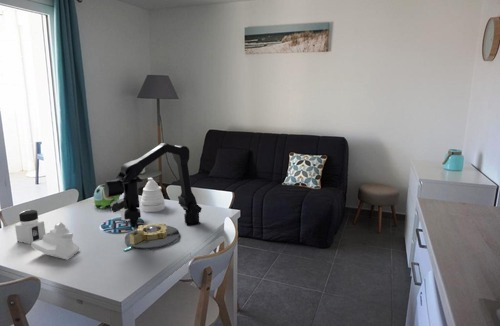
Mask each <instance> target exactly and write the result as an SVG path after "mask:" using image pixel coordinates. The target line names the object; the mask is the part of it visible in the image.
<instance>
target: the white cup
mask: <svg viewBox="0 0 500 326" xmlns="http://www.w3.org/2000/svg"><path fill="white" fill-rule="evenodd" d="M126 210H127V209H124V208H123V209H120V210H119V212H120V216H121V217H120V218H121V221H122V220H130V219H125V216H124V212H125V211H126Z"/></svg>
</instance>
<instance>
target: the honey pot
mask: <svg viewBox="0 0 500 326" xmlns="http://www.w3.org/2000/svg"><path fill="white" fill-rule="evenodd" d="M147 180H148V181H147V182H146V184H145V186H144V187H143V189H142V194H141V195H142V196H141V199H140V211H142V212H145V213H154V212H155V213H156V212H160V211H163V210H164V209H165V208H166V207H165V198H164V196H163V192H162V186H159V185H158V183H157V182H156V181H155V180H154V178H153V177H147Z"/></svg>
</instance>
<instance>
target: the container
mask: <svg viewBox="0 0 500 326" xmlns="http://www.w3.org/2000/svg"><path fill="white" fill-rule="evenodd" d="M18 216H19V217H18V218H19V223H17V224H15V226H14V228H15V235H16V241H17V242H18V241H19V243H22V242H24V243H23V244H27V243H29V244H28V245H32V242H35V241H39V240H42V238H43V236H44V235H45V234H46V228H45V221H44V220H39V215H38V211H37V210H35V209H27V210H24V211H21V212H20V213H19V214H18Z"/></svg>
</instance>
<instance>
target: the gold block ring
mask: <svg viewBox="0 0 500 326" xmlns="http://www.w3.org/2000/svg"><path fill="white" fill-rule="evenodd" d="M151 225H156V226H158V231H157V232H151V233H147V232H146V227H147V226H151ZM166 225H167V224H166V223H164V222H161V223H150V224H149V223H148V224H145V225H142V224H141V225H138V226H137V228H138V229H137V228H136V229H137V231H136V232H134V233H131V234H130V244H134V245H135V244H137V243H139V242H141V241H143V240H155V239H158V238H159V239H160V238H165V237H167V228H166Z"/></svg>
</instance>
